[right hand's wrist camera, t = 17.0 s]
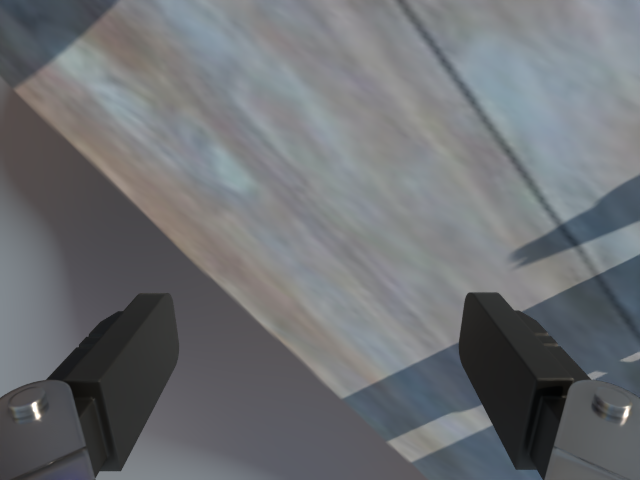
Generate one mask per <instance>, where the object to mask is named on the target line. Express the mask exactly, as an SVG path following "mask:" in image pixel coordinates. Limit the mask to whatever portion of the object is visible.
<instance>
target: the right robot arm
mask: <svg viewBox="0 0 640 480" xmlns="http://www.w3.org/2000/svg"><path fill="white" fill-rule="evenodd" d="M178 354H179V340H178V333H177V326H176V319H175V312H174V305H173V300H172V297H171V295H170V294H169V293H140V294H138V295H137V296H136V297H135V298H134V300H133V301H132V302H131V303H130V304H129V305H128V306H127V308H126V309H125V310H124V311H118V312H116V313H115V314H113V315H111V316H110V317H108V318H106V319H105V320H103V321H101V322H100V323H99V324H98V325H97V326H96V327H95V328H94V329H93V330H92V331H91V333H90V334H89V337H86V338H85V339H84V340H83V341H82V342H81V343H80V344H79V347H77V348H76V349H75V350H74V351H73V352H72V353H71V354H70V355H69V356H68V357H67V358H66V359H65V360H64V361H63V362H62V363H61V364H60V366H59V367H58V368H57V369H56V370H55V371H54V372H53V373H52V374H51V375H50V376H49V377H48V378H47V379H46V380H43V381H37V382H33V383H30V384H26V385H24V386H21V387H19V388H17V389H14V390H12V391H10V392H9V393H7V394H5V395H4V396H2V397H1V398H0V480H96V479H95V478H96V476H97V474H98V473H99V471H121V470H122V468H123V466H124V464H125V462H126V460H127V458H128V456H129V455H130V453H131V451H132V449H133V447H134V445H135V443H136V441H137V439H138V437H139V435H140V433H141V432H142V430H143V428H144V426H145V424H146V422H147V420H148V418H149V416H150V414H151V412H152V410H153V408H154V407H155V405H156V403H157V401H158V399H159V397H160V395H161V393H162V391H163V389H164V387H165V385H166V383H167V381H168V380H169V378H170V376H171V374H172V372H173V370H174V368H175V366H176V363H177V360H178ZM459 355H460V360H461V363H462V366H463V368H464V370H465V372H466V373H467V375H468V377H469V379H470V381H471V383H472V385H473V387H474V389H475V391H476V393H477V395H478V397H479V399H480V401H481V403H482V405H483V407H484V408H485V410H486V412H487V414H488V416H489V418H490V420H491V422H492V424H493V426H494V428H495V430H496V432H497V434H498V436H499V438H500V440H501V442H502V444H503V445H504V447H505V449H506V451H507V453H508V455H509V457H510V459H511V461H512V463H513V465H514V467H515V469H516V470H538V472H539V474H540V475H541V477H542V479H543V480H640V398H639V397H638V396H636V395H635V394H633V393H631V392H630V391H628V390H626V389H623V388H621V387H619V386H616V385H614V384H610V383H607V382H603V381H597V380H591V379H590V378H589V377H588V376H587V374H586V373H585V372H584V371H583V370H582V369H581V368H580V367H579V366H578V365H577V364H576V363H575V362H574V361H573V359H572V358H571V357H570V356H569V355H568V354H567V353H566V352H565V351H564V350H563V349H562V348H561V347H560V346H558V343H557V342H556V341H555V340H554V339H553V338H552V337H551V336H548V333H547V332H546V330H545V329H544V328H543V327H542V326H541V325H540V324H539V323H538V322H537V321H536V320H534V319H532V318H531V317H529V316H527V315H526V314H524V313H522V312H521V311H514V310H513V309H512V308H511V306H510V305H509V304H508V303H507V302H506V301H505V300H504V298H503V297H502V296H501V295H500V294H499V293H468V294H467V296H466V298H465V303H464V310H463V317H462V324H461V331H460V338H459Z"/></svg>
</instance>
